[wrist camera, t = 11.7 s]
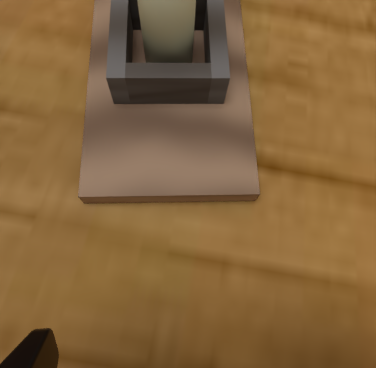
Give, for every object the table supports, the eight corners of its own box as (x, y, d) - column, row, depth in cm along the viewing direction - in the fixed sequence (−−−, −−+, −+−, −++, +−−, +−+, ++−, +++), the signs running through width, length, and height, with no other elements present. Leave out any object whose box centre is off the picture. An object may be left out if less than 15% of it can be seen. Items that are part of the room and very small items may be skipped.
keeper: (254, 200, 24) (272, 179, 20) (84, 203, 23) (63, 181, 19) (232, -27, 31) (242, -79, 27) (102, -30, 30) (90, -83, 26)
